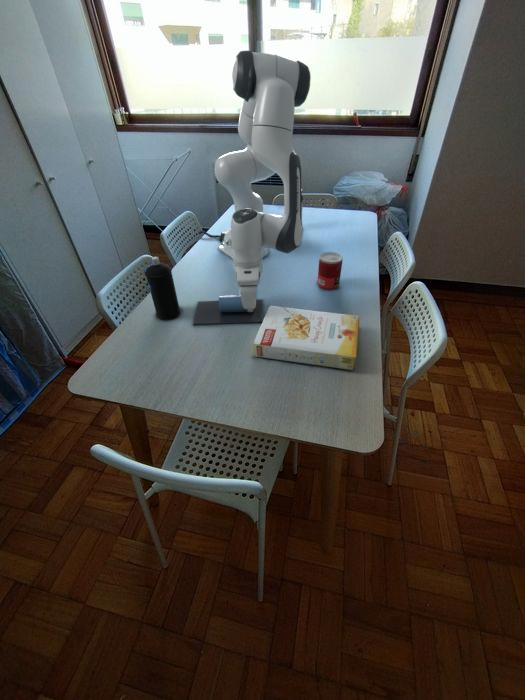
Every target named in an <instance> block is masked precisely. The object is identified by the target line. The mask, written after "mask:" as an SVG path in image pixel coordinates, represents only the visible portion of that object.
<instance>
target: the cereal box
mask: <svg viewBox="0 0 525 700" xmlns="http://www.w3.org/2000/svg"><path fill="white" fill-rule="evenodd" d="M360 317H361V316H360V315H354V314H345V313H337V312H328V311H319V310H311V309H303V308H294V307H293V308H292V307H285V306H276V305H269V306H268V308H267V311H266V313H265V316H264V318H263V319H262V323H261V325H260V327H259V329H258V332H257V334H256V336H255V339H254V342H253V356H254V357H258V358H263V359H265V358H266V359H272V360H277V361H278V360H279V361H285V362H286V361H287V362H292V363H300V364H306V365H307V364H308V365H315V366H322V367H329V368H336V369H342V370H349V371H353V370H355V367H356V363H357V358H358V357H357V356H358V347H359V331H360V329H359V328H360Z"/></svg>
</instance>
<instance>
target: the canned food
mask: <svg viewBox="0 0 525 700" xmlns="http://www.w3.org/2000/svg"><path fill="white" fill-rule="evenodd" d="M342 266H343V256H342V254H340V253H337V252H332V251H328V252H323V253H321V254H320V255H319V257H318V267H317V268H318V270H317V286H318V287H319V288H320V289H323V290H328V291H332V290H336V289H337V288H339V285H340V283H341V275H342Z"/></svg>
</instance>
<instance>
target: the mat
mask: <svg viewBox="0 0 525 700" xmlns="http://www.w3.org/2000/svg"><path fill="white" fill-rule="evenodd" d="M262 302H263V301H262V299H256V306H255V308H254V312H222V313H220V310H219V300H204V301H202V300H201V301H198V302H197V304H196V305H197V306H196V310H195V315H194V319H193V322H192V323H193V326H209V325H210V326H211V325H212V326H213V325H214V326H215V325H239V324H243V325H244V324H262V322H263V304H262Z"/></svg>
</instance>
